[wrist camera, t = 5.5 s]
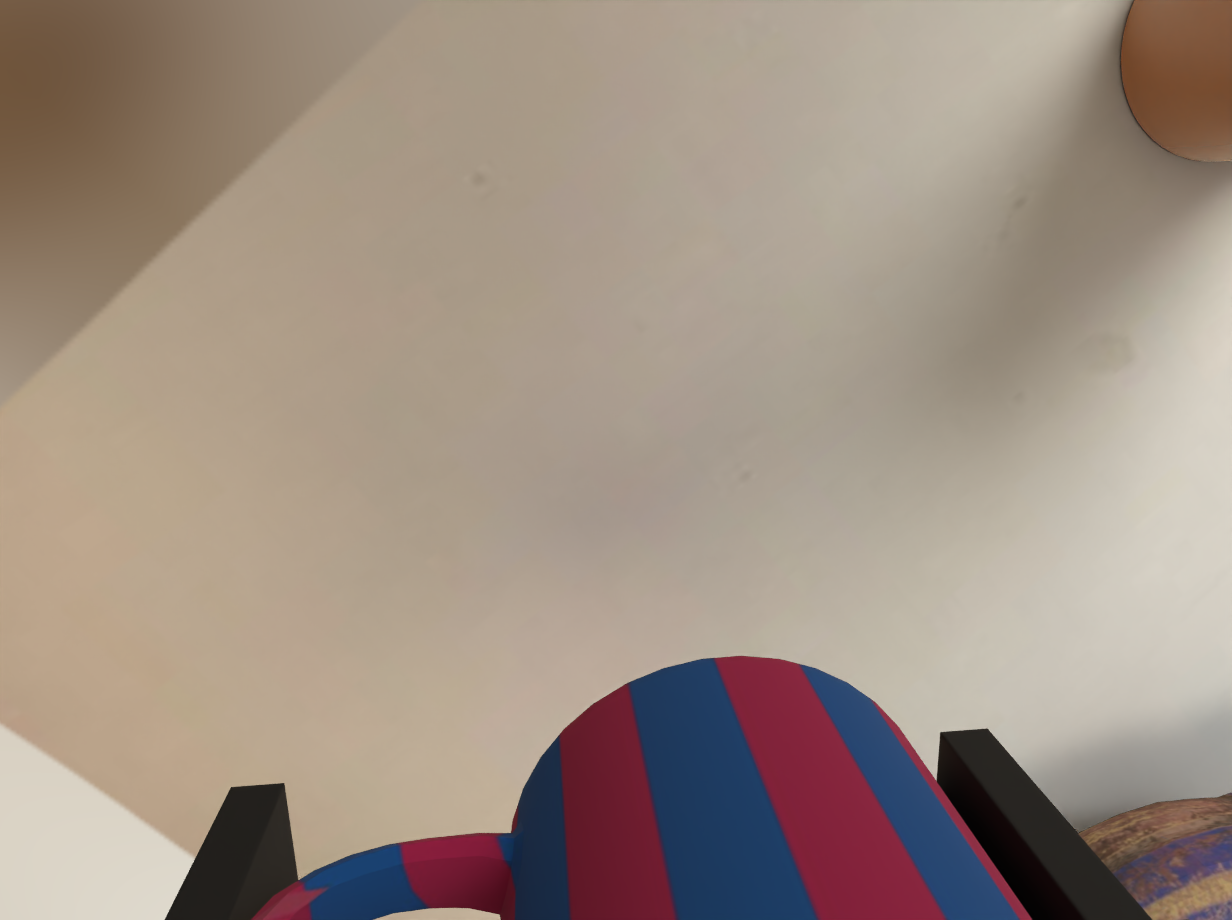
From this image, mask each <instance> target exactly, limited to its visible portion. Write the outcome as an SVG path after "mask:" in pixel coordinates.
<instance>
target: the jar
mask: <svg viewBox="0 0 1232 920" xmlns="http://www.w3.org/2000/svg"><path fill="white" fill-rule="evenodd" d="M1121 71H1122V81H1123V86H1124V91H1125V94H1126V97H1127V100H1128V103H1129V106H1130V108H1131V110H1132V112H1133V114H1134V116H1135V118H1136V120H1137V121H1138V123H1139V124H1140V126H1141V127H1142V128H1143V130H1144V131H1145V132H1146V133H1147V134H1148V135H1149V136H1150V137H1151V138H1152V139H1153V140H1154V141H1155V142H1156V143H1158V144H1159V145H1160V146H1162V147H1163V148H1164V149H1166V150H1168V151H1170V152H1172V153H1173V154H1175V155H1178V156H1181V157H1184V158H1186V159H1191V160H1196V161H1207V162H1217V161H1232V0H1134V2H1133V5H1132V7H1131V10H1130V12H1129V15H1128V19H1127V22H1126V26H1125V29H1124V35H1123V41H1122V48H1121Z"/></svg>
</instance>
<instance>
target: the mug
mask: <svg viewBox="0 0 1232 920" xmlns="http://www.w3.org/2000/svg"><path fill="white" fill-rule="evenodd" d="M428 908H471V909H476V910H481V911H485V912H490V913H495V914H500V917H501V920H1032V919H1031V917H1030V916H1029V914H1028V913H1027V911H1026V910H1025V908H1024V907H1023V906H1022V904H1021V903H1020V901H1019V900H1018V898H1017V897H1016V895H1015V894H1014V893H1013V891H1012V890H1011V888H1010V887H1009V885H1008V884H1007V882H1006V881H1005V880H1004V878H1003V877H1002V875H1001V874H1000V872H999V871H998V869H997V868H996V867H995V865H994V864H993V862H992V861H991V859H990V858H989V857H988V855H987V854H986V852H985V851H984V849H983V848H982V846H981V845H980V844H979V842H978V841H977V839H976V838H975V836H974V835H973V833H972V832H971V831H970V829H969V828H968V826H967V825H966V823H965V822H964V820H963V819H962V818H961V816H960V815H959V813H958V812H957V810H956V809H955V807H954V806H953V805H952V803H951V802H950V800H949V799H948V797H947V796H946V795H945V793H944V792H943V790H942V789H941V787H940V786H939V784H938V783H937V782H936V780H935V779H934V777H933V776H932V774H931V773H930V771H929V770H928V769H927V767H926V766H925V764H924V763H923V761H922V760H921V758H920V757H919V756H918V754H917V753H916V751H915V750H914V748H913V747H912V745H911V744H910V743H909V741H908V740H907V738H906V737H905V735H904V734H903V733H902V731H901V730H900V728H899V727H898V726H897V725H896V724H895V722H894V721H893V720H892V719H891V718H890V717H889V716H888V715H887V714H886V713H885V712H884V711H883V710H882V709H881V708H880V707H879V706H878V705H877V704H876V703H875V702H874V701H873V700H871V699H870V698H868V697H867V696H866V695H864V694H863V693H861V692H860V691H858V690H857V689H856V688H854V687H853V686H851V685H850V684H849V683H847V682H845V681H842V680H840V679H838V678H836V677H834V676H831V675H829V674H827V673H825V672H822V671H820V670H818V669H816V668H812V667H808V666H805V665H801V664H797V663H793V662H789V661H785V660H781V659H772V658H760V657H748V656H734V657H722V658H709V659H700V660H696V661H692V662H688V663H684V664H679V665H675V666H671V667H667V668H663V669H661V670H658V671H656V672H653V673H651V674H648V675H646V676H644V677H641V678H639V679H636V680H634V681H631V682H629V683H627V684H625V685H623V686H622V687H620V688H619V689H617V690H615V691H614V692H612V693H610V694H609V695H607V696H605V697H604V698H602V699H601V700H599V701H597V702H596V703H594V704H593V705H592V706H590V707H589V708H588V709H587V710H586V711H585V712H583V713H582V714H581V715H580V716H579V717H578V718H576V719H575V720H574V721H573V722H572V723H571V724H569V725H568V726H567V727H566V728H565V729H564V730H563V731H562V732H561V734H560V735H559V736H558V737H557V738H556V740H555V741H554V742H553V743H552V744H551V746H550V747H549V748H548V749H547V750H546V752H545V753H544V754H543V755H542V756H541V758H540V760H539V761H538V763H537V765H536V767H535V769H534V770H533V772H532V774H531V776H530V777H529V779H528V781H527V783H526V785H525V786H524V788H523V791H522V794H521V797H520V800H519V803H518V806H517V809H516V812H515V815H514V818H513V822H512V830H511V833H474V834H465V835H456V836H446V837H436V838H427V839H421V840H414V841H408V842H402V843H396V844H389V845H385V846H382V847H378V848H375V849H371V850H367V851H364V852H360V853H356V854H353V855H350V856H347V857H345V858H343V859H340V860H338V861H336V862H333V863H331V864H329V865H326V866H324V867H321V868H319V869H317V870H315V871H313V872H311V873H310V874H308V875H306V876H305V877H303V878H302V879H300V880H298V881H297V882H295V883H293V884H292V885H290V886H288V887H287V888H285V889H284V890H282V891H280V892H279V893H277V894H275V895H274V896H273V897H272V898H271V899H270V900H269V901H268V902H267V903H266V904H265V905H264V906H263V907H262V908H261V910H260V911H259V912H258V913H257V914H256V915H255V916H254V917H253V918H252V919H251V920H373V919H377V918H380V917H383V916H386V915H389V914H392V913H398V912H406V911H413V910H420V909H428Z"/></svg>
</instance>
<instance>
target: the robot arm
mask: <svg viewBox="0 0 1232 920" xmlns="http://www.w3.org/2000/svg"><path fill="white" fill-rule="evenodd" d="M937 783H938V784H939V786H940V787H941V789H942V790H943V792H944V793H945V795H946V796H947V797H948V799H949V800H950V802H951V803H952V805H953V806H954V807H955V809H956V810H957V812H958V813H959V815H960V816H961V818H962V819H963V820H964V822H965V823H966V825H967V826H968V828H969V829H970V831H971V832H972V833H973V835H974V836H975V838H976V839H977V841H978V842H979V844H980V845H981V846H982V848H983V849H984V851H985V852H986V854H987V855H988V857H989V858H990V859H991V861H992V862H993V864H994V865H995V867H996V868H997V869H998V871H999V872H1000V874H1001V875H1002V877H1003V878H1004V880H1005V881H1006V882H1007V884H1008V885H1009V887H1010V888H1011V890H1012V891H1013V893H1014V894H1015V895H1016V897H1017V898H1018V900H1019V901H1020V903H1021V904H1022V906H1023V907H1024V908H1025V910H1026V911H1027V913H1028V914H1029V916H1030V917H1031V919H1032V920H1152V919H1151V917H1150V916H1149V915H1148V914H1147V913H1146V912H1145V910H1144V909H1143V908H1142V907H1141V906H1140V905H1139V903H1138V902H1137V901H1136V900H1135V899H1134V898H1133V897H1132V895H1131V894H1130V893H1129V892H1128V891H1127V890H1126V888H1125V887H1124V886H1123V885H1122V884H1121V883H1120V881H1119V880H1118V879H1117V878H1116V877H1115V876H1114V875H1113V873H1112V872H1111V871H1110V870H1109V869H1108V868H1107V866H1106V865H1105V864H1104V863H1103V862H1102V861H1101V859H1100V858H1099V857H1098V856H1097V855H1096V854H1095V853H1094V851H1093V850H1092V849H1091V848H1090V847H1089V846H1088V844H1087V843H1086V842H1085V841H1084V840H1083V839H1082V838H1081V836H1080V835H1079V834H1078V833H1077V832H1076V831H1075V829H1074V828H1073V827H1072V826H1071V825H1070V824H1069V822H1068V821H1067V820H1066V819H1065V818H1064V817H1063V816H1062V814H1061V813H1060V812H1059V811H1058V810H1057V809H1056V807H1055V806H1054V805H1053V804H1052V803H1051V802H1050V800H1049V799H1048V798H1047V797H1046V796H1045V795H1044V794H1043V792H1042V791H1041V790H1040V789H1039V788H1038V787H1037V785H1036V784H1035V783H1034V782H1033V781H1032V780H1031V779H1030V777H1029V776H1028V775H1027V774H1026V773H1025V772H1024V770H1023V769H1022V768H1021V767H1020V766H1019V765H1018V763H1017V762H1016V761H1015V760H1014V759H1013V758H1012V757H1011V755H1010V754H1009V753H1008V752H1007V751H1006V750H1005V748H1004V747H1003V746H1002V745H1001V744H1000V743H999V741H998V740H997V739H996V738H995V737H994V736H993V735H992V733H991V732H990V731H989V730H988V729H977V730H964V731H951V732H940V745H939V758H938V771H937ZM297 881H298V875H297V868H296V861H295V855H294V848H293V841H292V834H291V827H290V820H289V813H288V806H287V799H286V792H285V785H284V783H280V784H267V785H254V786H241V787H231V788H230V790H229V792H228V794H227V796H226V798H225V800H224V802H223V804H222V806H221V808H220V810H219V812H218V814H217V816H216V818H215V820H214V822H213V824H212V826H211V828H210V830H209V832H208V834H207V836H206V838H205V840H204V842H203V844H202V846H201V848H200V850H199V852H198V854H197V856H196V858H195V860H194V862H193V864H192V866H191V868H190V870H189V872H188V874H187V876H186V879H185V880H184V882H183V884H182V886H181V888H180V890H179V892H178V894H177V896H176V898H175V900H174V902H173V904H172V906H171V908H170V910H169V912H168V914H167V917H166V918H165V920H251V919H252V918H253V917H254V916H255V915H256V914H257V913H258V912H259V911H260V910H261V908H262V907H263V906H264V905H265V904H266V903H267V902H268V901H269V900H270V899H271V898H272V897H273V896H274V895H275V894H277V893H279V892H280V891H282V890H284V889H285V888H287V887H288V886H290V885H292V884H293V883H295V882H297ZM1183 920H1190V919H1183Z"/></svg>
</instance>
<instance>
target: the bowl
mask: <svg viewBox="0 0 1232 920" xmlns="http://www.w3.org/2000/svg"><path fill="white" fill-rule="evenodd" d="M1078 834H1079V835H1080V836H1081V838H1082V839H1083V840H1084V841H1085V842H1086V843H1087V844H1088V846H1089V847H1090V848H1091V849H1092V850H1093V851H1094V853H1095V854H1096V855H1097V856H1098V857H1099V858H1100V859H1101V861H1102V862H1103V863H1104V864H1105V865H1106V866H1107V868H1108V869H1109V870H1110V871H1111V872H1112V873H1113V875H1114V876H1115V877H1116V878H1117V879H1118V880H1119V881H1120V883H1121V884H1122V885H1123V886H1124V887H1125V888H1126V890H1127V891H1128V892H1129V893H1130V894H1131V895H1132V897H1133V898H1134V899H1135V900H1136V901H1137V902H1138V903H1139V905H1140V906H1141V907H1142V908H1143V909H1144V910H1145V912H1146V913H1147V914H1148V915H1149V916H1150V917H1151V919H1152V920H1183V919H1190V920H1232V793H1229V794H1226V795H1223V796H1220V797H1217V798H1199V799H1183V800H1176V801H1166V802H1156V803H1153V804H1150V805H1147V806H1144V807H1141V808H1138V809H1135V810H1131V811H1128V812H1125V813H1122V814H1119V815H1117V816H1114V817H1112V818H1110V819H1108V820H1105V821H1103V822H1101V823H1099V824H1097V825H1095V826H1093V827H1090V828H1088V829H1086V830H1084V831H1082V832H1080V833H1078Z"/></svg>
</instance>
